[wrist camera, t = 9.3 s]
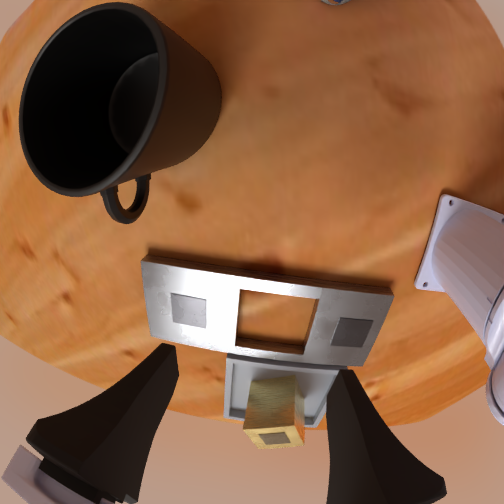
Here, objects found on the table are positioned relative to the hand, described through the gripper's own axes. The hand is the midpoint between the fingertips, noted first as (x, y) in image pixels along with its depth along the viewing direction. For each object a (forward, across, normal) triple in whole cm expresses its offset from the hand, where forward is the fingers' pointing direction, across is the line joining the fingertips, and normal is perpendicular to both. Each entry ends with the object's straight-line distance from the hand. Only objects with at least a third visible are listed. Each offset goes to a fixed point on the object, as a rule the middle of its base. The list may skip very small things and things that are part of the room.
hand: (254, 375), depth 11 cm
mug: (+11, +9, -10) cm, 17 cm away
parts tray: (+10, -3, +14) cm, 18 cm away
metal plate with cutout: (+10, 0, +4) cm, 11 cm away
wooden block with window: (+10, -3, +14) cm, 18 cm away
